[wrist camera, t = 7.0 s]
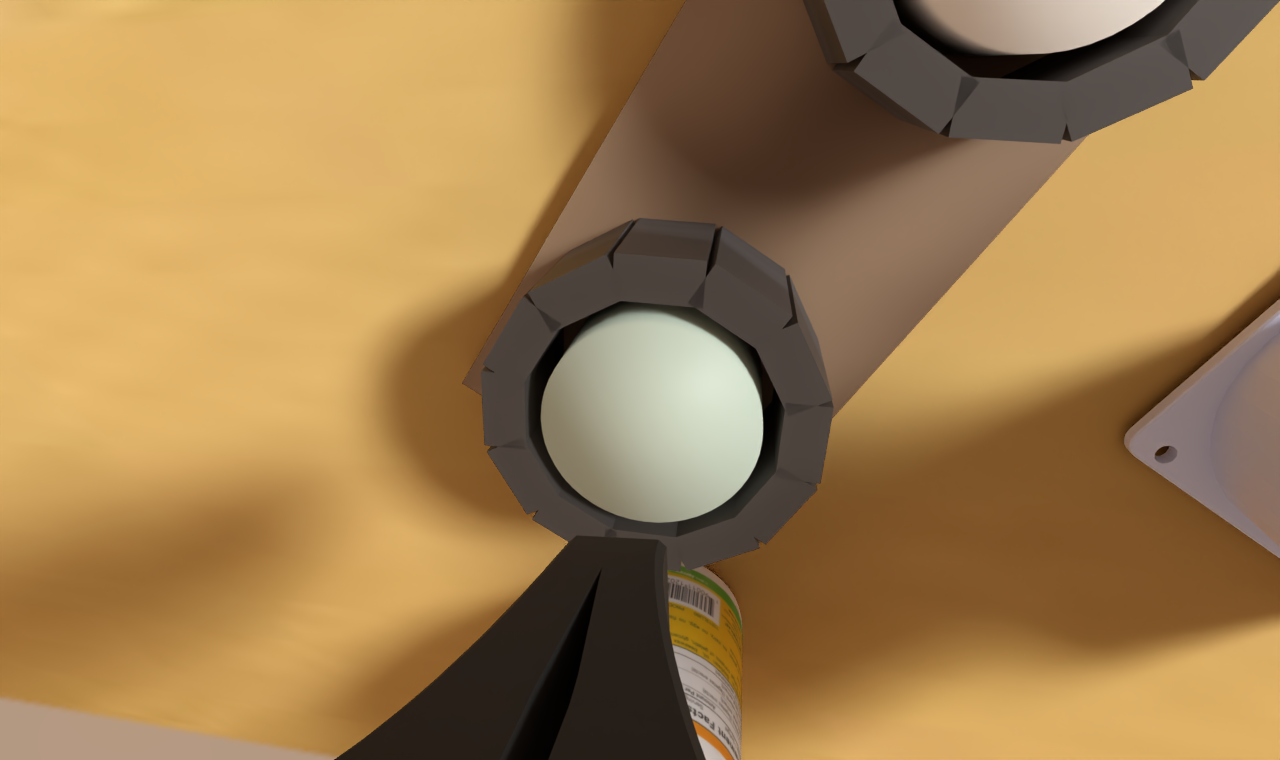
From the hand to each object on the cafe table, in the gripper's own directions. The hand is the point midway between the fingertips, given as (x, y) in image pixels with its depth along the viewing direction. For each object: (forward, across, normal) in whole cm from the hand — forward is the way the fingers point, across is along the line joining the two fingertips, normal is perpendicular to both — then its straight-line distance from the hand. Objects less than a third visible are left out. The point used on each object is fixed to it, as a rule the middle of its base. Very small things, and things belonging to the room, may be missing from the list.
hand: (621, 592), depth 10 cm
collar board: (+10, -3, -5) cm, 12 cm away
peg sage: (+9, 0, 0) cm, 9 cm away
